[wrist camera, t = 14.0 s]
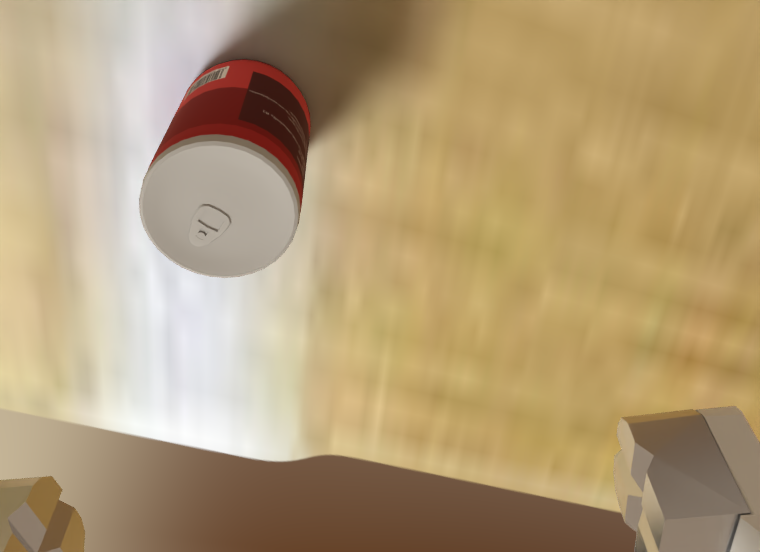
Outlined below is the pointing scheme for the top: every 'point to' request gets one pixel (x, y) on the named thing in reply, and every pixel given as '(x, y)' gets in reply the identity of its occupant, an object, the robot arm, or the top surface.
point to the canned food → (229, 172)
